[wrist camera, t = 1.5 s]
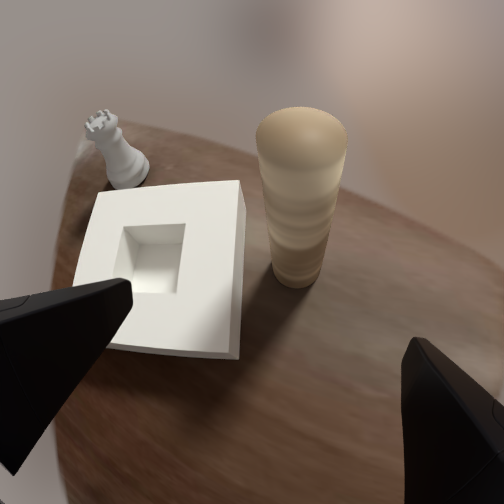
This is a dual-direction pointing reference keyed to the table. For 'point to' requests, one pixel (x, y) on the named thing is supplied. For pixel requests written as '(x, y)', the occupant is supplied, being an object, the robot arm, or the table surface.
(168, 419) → the table surface
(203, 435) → the table surface
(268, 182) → the peg
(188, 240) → the block
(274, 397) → the table surface
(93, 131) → the rook chess piece
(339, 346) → the table surface
